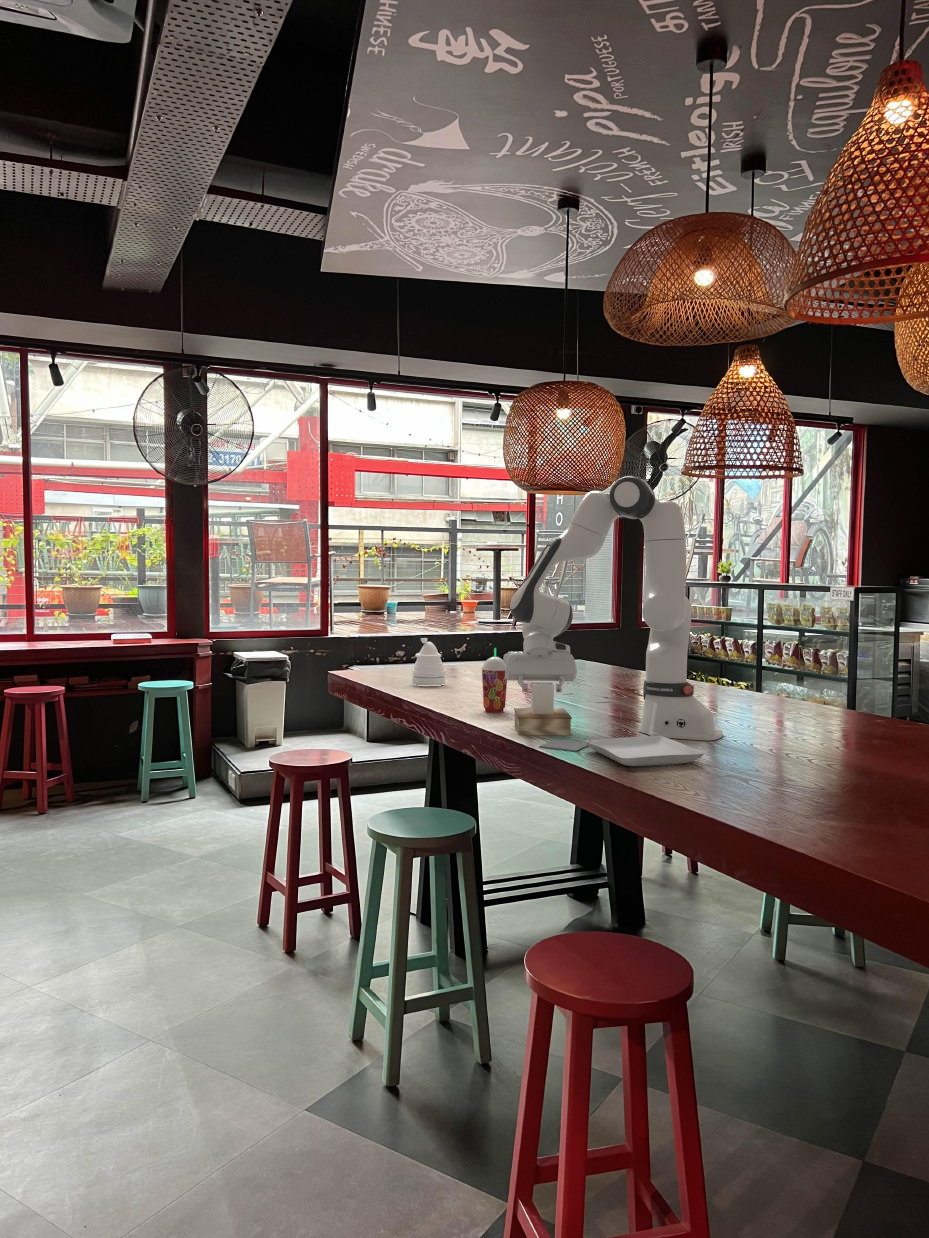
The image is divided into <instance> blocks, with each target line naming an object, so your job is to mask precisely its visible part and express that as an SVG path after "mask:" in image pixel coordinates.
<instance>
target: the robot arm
mask: <svg viewBox="0 0 929 1238" xmlns="http://www.w3.org/2000/svg"><path fill="white" fill-rule="evenodd" d="M683 516H684V515H683V511H682V509H681V506H680V505H679V504H678V503H677V502H675V501H673V500H668V499H657V497H656V494H655V492H654V490H653V489H652V487H651V486H650V484H649V483H648V482H646V481H645V480H644V479H642V478H639V477H638V476H634V475H625V476H622V477H620V478H618V479H617V480H615V481H614V483H613V484H612V485H611V487H610V490H609V492H604V491H601V490H591V491H589V492H586V494H584V496H583V497H582V499H581V500H580V502H579V504H578V506H577V507H576V509H575V510H574V512H573V514H572V517H571V518H570V522H569V524H568V526H567V527H566V528H565V530H564V531H563V532H562V533H560V535H558V536H555V537H552V538H551V539H550V540H549V541H548V543H547V544H546V545H545V546H544V547H543V549H542V551H541V553H540V555H538V557H537V559H536V560H535V563H534V564H533V565H532V567H531V568H530V570H529V571H528V573H527V575H526V576H525V578H524V580H523V581H522V583H521V584H520V585H519V586H518V588H517V589H516V590H515V592H514V593H513V594H512V596H511V598H510V602H509V605H508V606H509V610H510V613H511V615H512V617H513V618H514V619H515V620H516V621H517V622H521V623H522V625H521V626H522V627H521V629H522V637H523V645H522V646H523V651H508V652H506V653H505V654H504V655H503V657H502V660H503V661H504V663H505V664H506V667H505V678H506V679H507V681H517V684H518V685H519V686H520V688H521V692H522V693H526V692H528V690H529V689H528V688H529V686H528V685H529V684H528V683H525V681H527V682H528V681H531V682H534V681H535V682H558V683H556V684H555V692H556V693H562V690H563V688H562V687H563V686H564V685H565V682H574V681H575V680H576V679H577V676H578V675H577V674H578V670H577V665H576V661H575V658H574V656H573V655H572V654H571V647H570V645H569V644H565V643H561V642H558V641H556V640H555V641H554V638H556V637H558V636H560V635H561V634H562V633H565V631H567V630H568V629H569V628H570V626H571V625H572V622H573V617H574V613H573V608H572V604H571V603H570V602H569V601H568V600H566V599H563V598H561V597H557V596H554V595H551V594H549V593H545V592H544V591H543V592H542V591H540V588H541V587H542V585H543V583H544V581H545V580H546V578H547V577H548V575H549V574H550V572H551V570H552V569H553V568H554V567H555V566H556V565H557V564H559V563H562V562H567V561H582V560H587V559H591V558H593V557H594V556H596V555H597V554H599V552H600V550H601V549H602V547H603V545H604V543H605V541H606V539H607V536H608V533H609V531H610V528H611V527H612V525H613V523H614V522H615V521H616V520H617V519H626V520H627V519H628V520H639V521H640V522H641V523H642V526H643V527H642V528H643V533H644V534H643V535H644V537H643V539H644V562H645V563H644V564H645V567H644V572H645V573H644V582H643V583H644V584H643V598H642V599H643V600H642V609H641V610H642V619H643V620H644V622H645V624H646V626H648V627H649V628H650V629H649V637H648V644H647V648H646V652H645V679H644V681H643V690H642V693H643V694H642V696H643V700H644V702H643V709H642V714H641V715H642V716H641V719H640V724H639V727H638V729H637V730H638V731H639V732H640V733H642V734H645V735H649V736H663V737H666V738H668V739H678V740H679V739H681V740H693V741H695V740H696V741H708V742H709V741H715V740H719V739H721V738H722V737H723V736H724V732H723V730H721V729H720V728H719V729H717V728H716V726H715V725H716V724H715V719H714V714H713V712H712V711H711V709H709V708H708V707H706V706H705V705H704V703H702V702H700V701H699V700H698V699H697V698H696V697H695V696H694V693H695V692H694V691H695V684H693V685H692V684H691V682H688V681H687V678H688V677H687V675H688V672H687V671H688V650H689V642H690V635H691V627H692V626H691V623H692V611H693V610H692V604H691V602H690V600H689V598H688V597H687V596H686V595H685V589H686V588H685V587H686V576H687V575H686V574H687V564H688V563H687V542H686V541H687V539H686V530H685V529H686V527H685V520H684V517H683Z"/></svg>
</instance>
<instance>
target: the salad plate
mask: <svg viewBox="0 0 929 1238" xmlns="http://www.w3.org/2000/svg"><path fill="white" fill-rule="evenodd" d="M585 743H587V744H588V747H590V749H592V750H593V751H595V752H596V753H599V754H601V755H603V756H604V755H605V756H604V757H606V756H607V757H606V758H608V757H609V759H610V760H613V761H614V760H615V761H614V762H616V761H617V763H619V764H620V765H623V766H626V767H654V765H655V766H669V765H671V764H672V765H682V764H686V763H687V764H689V763H691V762H695V761H697V760H699V759H701V758H702V757H703V756H704V755H705V752H702V751H701V750H698V749H696V748H694V747H691V746H689V745H687V744H683V743H681V742H680V741H676V740H674V739H672V738H666V737H663V736H650V735H649V736H630V737H628V736H627V737H615V738H604V739H599V738H598V739H587V740H585ZM672 765H671V766H672Z"/></svg>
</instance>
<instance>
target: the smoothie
mask: <svg viewBox="0 0 929 1238" xmlns="http://www.w3.org/2000/svg"><path fill="white" fill-rule="evenodd" d="M493 653H494V654H493V656H491V657H489V658H487V659H486V660H485V662H484V663H483V666H482V667H481V680H482V699H483V702H482V704H483V708H484V711H485V712H486V713H493V714H494V713H495V714H499V713H503V712H504V709H505V708H506V702H507V701H506V699H507V687H508V680H507V679H506V678H505V667H506V664H505V663H504V661H503V658H501V657H500V656H497V647H494V649H493Z"/></svg>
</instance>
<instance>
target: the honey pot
mask: <svg viewBox="0 0 929 1238" xmlns="http://www.w3.org/2000/svg"><path fill="white" fill-rule="evenodd" d="M420 641H421V643H422V644H423V646H422V647H421V649H420V651H419V652H418V653H415V657H416V661H415V663H414V665H413V670H412V671H411V672H412V674H411V675H412V676H411V677H412V679H411V684H412V683H413V684H416V685H441V684H445V685H446V670H445V667H444V663H443V662H442V658H441V657H442V654H441V653H439V652H438V651H439V650H438V649H437V647H436V645H435V644H434V643H433V642H432V641H428V638H427V637H424V638H423V637H421V638H420Z"/></svg>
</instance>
